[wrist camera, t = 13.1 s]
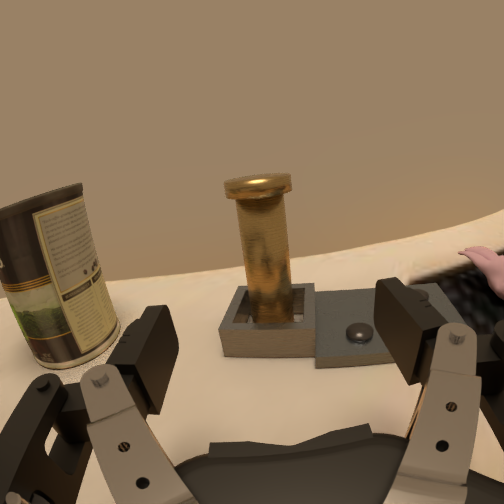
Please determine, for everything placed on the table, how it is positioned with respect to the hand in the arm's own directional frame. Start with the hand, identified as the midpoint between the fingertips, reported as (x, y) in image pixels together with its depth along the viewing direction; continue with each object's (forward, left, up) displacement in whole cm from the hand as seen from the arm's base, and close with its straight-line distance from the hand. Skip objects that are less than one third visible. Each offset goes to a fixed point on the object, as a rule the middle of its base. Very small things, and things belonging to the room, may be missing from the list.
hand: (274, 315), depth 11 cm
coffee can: (-21, +7, -8) cm, 23 cm away
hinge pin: (-2, +10, -8) cm, 13 cm away
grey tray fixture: (+4, +10, -8) cm, 13 cm away
